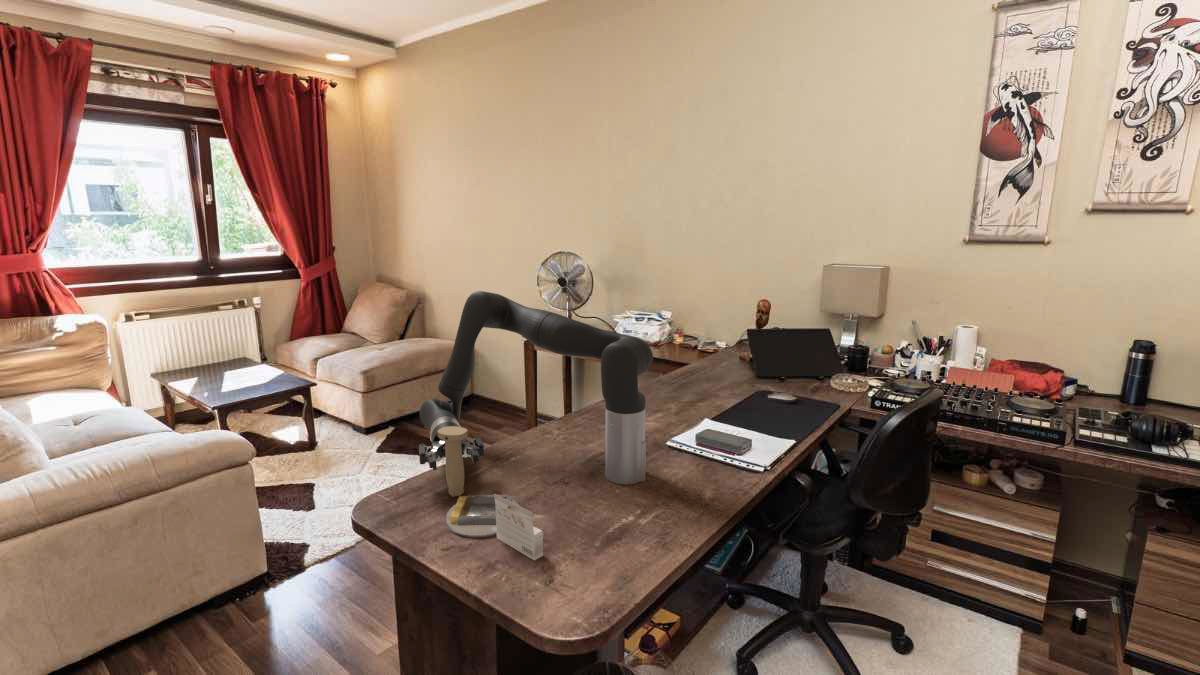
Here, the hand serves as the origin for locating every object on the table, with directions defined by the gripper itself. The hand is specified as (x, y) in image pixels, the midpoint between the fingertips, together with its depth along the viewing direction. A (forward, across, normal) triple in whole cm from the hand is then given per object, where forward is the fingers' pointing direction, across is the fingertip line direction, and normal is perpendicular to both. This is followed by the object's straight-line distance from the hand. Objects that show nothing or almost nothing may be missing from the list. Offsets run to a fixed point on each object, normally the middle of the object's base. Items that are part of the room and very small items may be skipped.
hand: (455, 462), depth 126 cm
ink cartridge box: (+24, +8, +8) cm, 27 cm away
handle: (-1, 0, +8) cm, 8 cm away
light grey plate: (+11, +4, +8) cm, 14 cm away
